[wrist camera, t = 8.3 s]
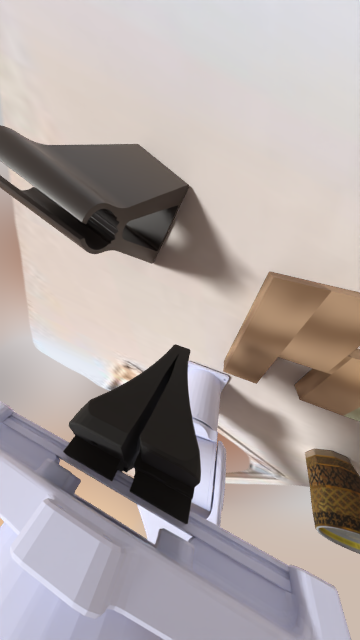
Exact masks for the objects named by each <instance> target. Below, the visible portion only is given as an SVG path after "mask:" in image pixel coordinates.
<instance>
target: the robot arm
mask: <svg viewBox="0 0 360 640" xmlns="http://www.w3.org/2000/svg"><path fill="white" fill-rule="evenodd" d="M189 355H190V349H187V348H184V347H181V346H179V345H176V344H175V345H174V346H173V347H172V348H171V349H170V350H169V351H168V352H167V353H166V354H165V355H164V356H163V357H162V358H160V359H159V360H158V361H157V362H156V363H155V364H153V365H152V366H151V367H149V368H148V369H147V370H145V371H144V372H142V373H141V374H140V375H138V376H136V377H135V378H133V379H132V380H130V381H128V382H126V383H125V384H123V385H121V386H119V387H117V388H115V389H113V390H111V391H109V392H107V393H105V394H102V395H100V396H98V397H96V398H94V399H91V400H90V401H89V402H88V403H87V404H86V405H85V406H84V407H83V408H81V410H80V411H79V412H78V413H77V414H76V415H75V416H74V418H73V419H72V420H71V421H70V422H69V427H70V428H71V430H72V431H73V433H74V434H75V437H74V438H73V439H72V441H71V442H70V443H69V442H67V441H65V440H64V439H62V438H60V437H58V436H57V435H55V434H52V433H51V432H49V431H47V430H46V429H44V428H42V427H40V426H39V425H37V424H35V423H33V422H32V421H30V420H28V419H26V418H24V417H23V416H21V415H19V414H17V413H15V412H14V411H13V409H11V407H9V406H8V405H6V404H5V403H3V402H1V401H0V518H1V519H2V520H3V521H4V523H3V524H2V526H1V527H0V640H351V637H350V634H349V630H348V627H347V624H346V619H345V616H344V612H343V609H342V605H341V602H340V598H339V594H338V591H337V590H336V588H335V587H334V586H333V585H331V584H329V583H327V582H326V581H324V580H322V579H320V578H318V577H317V576H315V575H313V574H311V573H309V572H308V571H306V570H304V569H301V568H299V567H297V566H294V565H287V564H285V563H283V562H281V561H280V560H277V559H276V558H274V557H273V556H271V555H269V554H267V553H265V552H263V551H262V550H260V549H258V548H256V547H255V546H253V545H251V544H249V543H248V542H246V541H244V540H242V539H240V538H239V537H237V536H235V535H233V534H231V533H230V532H228V531H226V530H224V529H223V528H221V527H220V521H221V520H220V519H221V511H222V509H223V501H224V490H225V474H226V449H225V448H224V445H223V443H222V442H221V441H218V446H217V435H218V432H217V427H218V416H219V406H220V395H221V392H222V390H223V388H224V387H225V385H226V383H227V382H228V380H229V376H228V375H225V374H222V373H220V372H217V371H214V370H212V369H209V368H206V367H204V366H201V365H198V364H195V363H193V362H190V361H188V360H189ZM216 446H217V452H216ZM59 458H60V459H62V460H64V461H65V462H67V463H69V464H70V465H72V466H74V467H76V468H77V469H79V470H80V471H82V472H84V473H86V474H87V475H89V476H91V477H92V478H94V479H96V480H97V481H99V482H101V483H102V484H104V485H106V486H107V487H109V488H111V489H113V490H115V491H116V492H118V493H119V494H121V495H123V496H124V497H126V498H128V499H129V500H131V501H133V502H134V503H136V504H137V506H138V509H139V512H140V515H141V518H142V521H143V524H144V527H145V530H146V534H147V539H146V538H144V537H143V536H141V535H140V534H138V533H136V532H135V531H133V530H132V529H130V528H129V527H127V526H126V525H124V524H122V523H121V522H119V521H118V520H116V519H114V518H113V517H111V516H110V515H108V514H106V513H105V512H103V511H102V510H100V509H98V508H97V507H95V506H93V505H92V504H90V503H89V502H87V501H86V500H84V499H82V498H80V497H79V496H77V495H76V494H74V493H75V490H76V489H77V487H78V485H79V484H80V482H81V480H80V479H79V478H77V477H76V476H74V475H73V474H72V473H71V472H70V471H68V470H66V469H65V468H63V467H62V466H60V465H59V462H60V459H59ZM215 458H216V461H215ZM133 467H134V468H135V476H134V479H133V478H132V477H130V476H128V475H126V474H124V473H123V472H122V471H125V472H128V471H129V470H130V469H132V468H133ZM212 490H213V492H212Z"/></svg>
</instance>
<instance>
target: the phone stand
mask: <svg viewBox="0 0 360 640" xmlns="http://www.w3.org/2000/svg"><path fill="white" fill-rule="evenodd" d="M0 161H1V162H2V163H4V164H5V165H6V166H8V167H9V168H10V169H12V170H13V171H14V172H16V173H17V174H18V175H20V176H21V177H22V178H24V179H25V180H26V181H28V182H29V183H30V184H32V185H33V186H34V187H33V188H31V189H29V190H24V191H21V190H19V189H18V188H16V187H15V186H14V185H12V184H11V183H10V182H8V181H7V180H5V179H4V178H3V177H2V176H0V188H2V189H3V190H4V191H6V192H7V193H9V194H10V195H11V196H12V197H14V198H15V199H16V200H18V201H19V202H21V203H22V204H23V205H25V206H26V207H27V208H29V209H30V210H31V211H33V212H34V213H35V214H37V215H38V216H40V217H41V218H42V219H44V220H45V221H46V222H48V223H49V224H50V225H52V226H53V227H54V228H56V229H57V230H58V231H60V232H61V233H63V234H64V235H65V236H67V237H68V238H69V239H71V240H72V241H73V242H75V243H76V244H77V245H79V246H80V247H82V248H83V249H84V250H86V251H87V252H89V253H91V254H99V253H102V252H104V251H109V250H116V251H119V252H122V253H124V254H127V255H130V256H133V257H135V258H138V259H141V260H143V261H146V262H149V263H153V262H154V261H155V259H156V256H157V254H158V252H159V250H160V248H161V246H162V244H163V241H164V239H165V237H166V235H167V233H168V230H169V228H170V226H171V224H172V222H173V220H174V218H175V216H176V213H177V211H178V209H179V207H180V205H181V203H182V201H183V198H184V196H185V194H186V192H187V190H188V187H189V185H188V184H187V183H185V182H184V181H183V180H182V179H181V178H179V177H178V176H177V175H176V174H174V173H173V172H172V171H171V170H169V169H168V168H167V167H166V166H164V165H163V164H162V163H161V162H160V161H158V160H157V159H156V158H155V157H153V156H152V155H151V154H150V153H148V152H147V151H146V150H145V149H144V148H142V147H141V146H140V145H139V144H110V145H43V144H39V143H36V142H34V141H31V140H29V139H27V138H25V137H24V136H22V135H20V134H19V133H17V132H16V131H14V130H12V129H10V128H7V127H4V126H0ZM35 187H36V188H35Z"/></svg>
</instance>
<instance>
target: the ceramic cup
mask: <svg viewBox="0 0 360 640" xmlns="http://www.w3.org/2000/svg"><path fill="white" fill-rule="evenodd" d="M305 456H306V463H307V469H308V477H309V483H310V492H311V503H312V510H313V517H314V522H315V528H316V530H317V531H318V532H319V533H320V534H321V535H322V536H324V537H325V538H327V539H328V540H330V541H332V542H334V543H336V544H338V545H340V546H342V547H344V548H347V549H349V550H351V551H354V552H356V553H359V554H360V476H359V475H358V473H357V472H356V470H355V469H354V467H353V466H352V464H351V463H350V461H349V459H348V458H347V457H345V456H343V455H341V454H338V453H336V452H334V451H331V450H321V449H312V450H310V451H307V452H305Z"/></svg>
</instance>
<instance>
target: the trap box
mask: <svg viewBox="0 0 360 640" xmlns="http://www.w3.org/2000/svg"><path fill="white" fill-rule="evenodd" d="M359 346H360V293H359V292H355V291H351V290H346V289H342V288H338V287H333V286H329V285H325V284H321V283H316V282H312V281H308V280H304V279H299V278H295V277H291V276H286V275H282V274H278V273H274V272H269V273H268V275H267V277H266V279H265V281H264V283H263V285H262V287H261V289H260V291H259V293H258V295H257V297H256V299H255V301H254V303H253V305H252V307H251V309H250V311H249V313H248V315H247V317H246V319H245V321H244V322H243V324H242V326H241V328H240V330H239V332H238V334H237V336H236V338H235V340H234V342H233V344H232V346H231V348H230V350H229V352H228V354H227V356H226V358H225V360H224V370H223V372H226V373H229V374H232V375H234V376H237V377H240V378H242V379H245V380H248V381H251V382H253V383H256V384H257V382H258V381H259V380H260V379H261V377H262V376H263V375H264V374H265V373H266V371H267V370H268V369H269V368H270V366H271V365H272V364H273V363H274V361H275V360H276V359H277V358H278V357H280V358H283V359H286V360H289V361H292V362H295V363H298V364H301V365H304V366H307V367H310V368H312V369H311V370H310V371H309V372H308V373H307V374H306V375H305V376H304V377H303V378H302V379H300V380H299V381H298V382H297V383H296V384H295V388H296V391H297V393H298V396H299V399H300V400H302V401H305V402H308V403H310V404H313V405H316V406H318V407H321V408H324V409H327V410H329V411H332V412H335V413H337V414H340V415H343V416H346V417H348V418H351V419H354V420H356V421H359V422H360V349H356V348H358V347H359Z"/></svg>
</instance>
